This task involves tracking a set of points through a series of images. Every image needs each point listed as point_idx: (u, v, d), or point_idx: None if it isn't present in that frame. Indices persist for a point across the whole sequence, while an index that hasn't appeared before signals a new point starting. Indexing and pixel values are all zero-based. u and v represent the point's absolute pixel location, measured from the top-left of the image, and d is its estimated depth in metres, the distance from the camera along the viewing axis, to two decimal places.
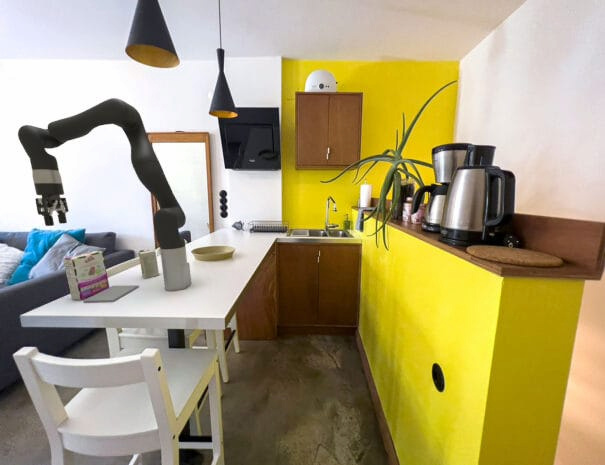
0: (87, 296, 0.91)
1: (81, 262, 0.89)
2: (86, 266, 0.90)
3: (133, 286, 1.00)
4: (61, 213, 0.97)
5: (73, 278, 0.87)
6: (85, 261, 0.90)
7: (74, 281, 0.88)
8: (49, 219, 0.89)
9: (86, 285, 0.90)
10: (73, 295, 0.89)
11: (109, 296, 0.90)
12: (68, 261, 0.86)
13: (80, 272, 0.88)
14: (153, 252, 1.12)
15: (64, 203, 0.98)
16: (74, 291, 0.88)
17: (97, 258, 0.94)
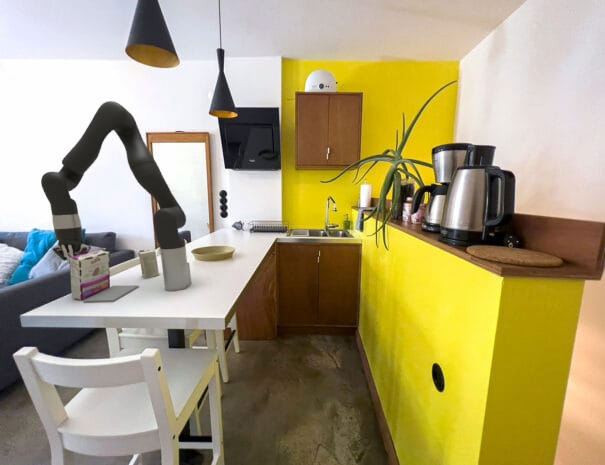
0: (87, 296, 0.91)
1: (87, 263, 0.88)
2: (91, 267, 0.90)
3: (133, 286, 1.00)
4: None
5: (77, 278, 0.87)
6: (91, 262, 0.89)
7: (78, 281, 0.87)
8: None
9: (88, 285, 0.90)
10: (74, 293, 0.89)
11: (109, 296, 0.90)
12: (75, 261, 0.86)
13: (85, 273, 0.88)
14: (153, 252, 1.12)
15: None
16: (76, 290, 0.88)
17: (103, 259, 0.94)
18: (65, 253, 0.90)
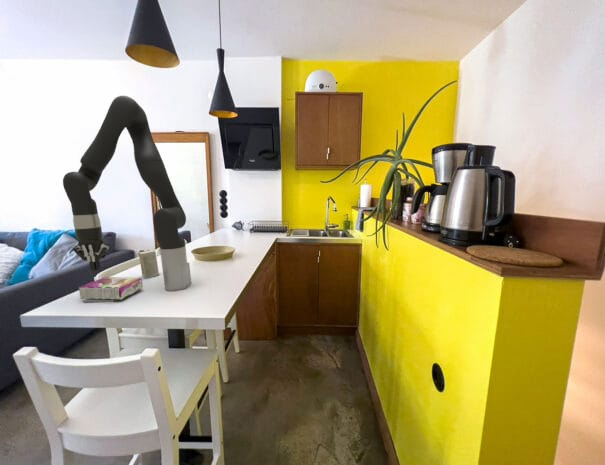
0: None
1: None
2: None
3: None
4: None
5: (101, 295, 0.87)
6: None
7: (98, 296, 0.87)
8: None
9: None
10: (83, 290, 0.87)
11: None
12: (117, 294, 0.86)
13: None
14: (153, 252, 1.12)
15: (84, 250, 0.92)
16: (88, 293, 0.87)
17: None
18: (85, 253, 0.90)
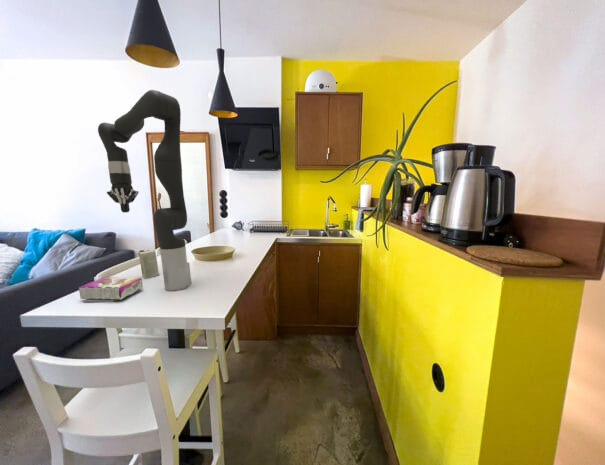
0: None
1: None
2: None
3: None
4: None
5: (101, 295, 0.87)
6: None
7: (98, 296, 0.87)
8: None
9: None
10: (83, 290, 0.87)
11: None
12: (117, 294, 0.86)
13: None
14: (153, 252, 1.12)
15: (115, 195, 1.07)
16: (88, 293, 0.87)
17: None
18: (117, 196, 1.04)
